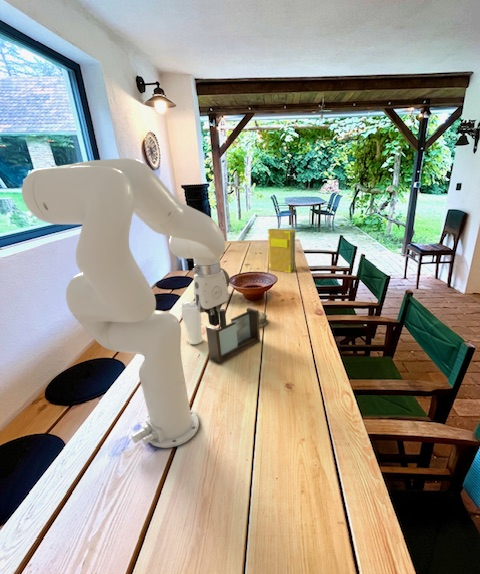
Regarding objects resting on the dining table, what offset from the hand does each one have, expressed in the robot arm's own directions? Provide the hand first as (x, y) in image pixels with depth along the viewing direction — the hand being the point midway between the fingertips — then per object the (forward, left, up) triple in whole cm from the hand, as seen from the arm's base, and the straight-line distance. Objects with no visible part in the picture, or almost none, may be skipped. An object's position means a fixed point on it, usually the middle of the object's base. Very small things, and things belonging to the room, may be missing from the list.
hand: (214, 324), depth 103 cm
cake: (+30, +11, -14) cm, 35 cm away
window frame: (+9, +1, -14) cm, 16 cm away
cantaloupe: (+42, +50, -14) cm, 66 cm away
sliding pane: (+4, 0, -12) cm, 13 cm away
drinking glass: (+4, +18, -14) cm, 23 cm away
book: (+99, +53, -14) cm, 113 cm away
